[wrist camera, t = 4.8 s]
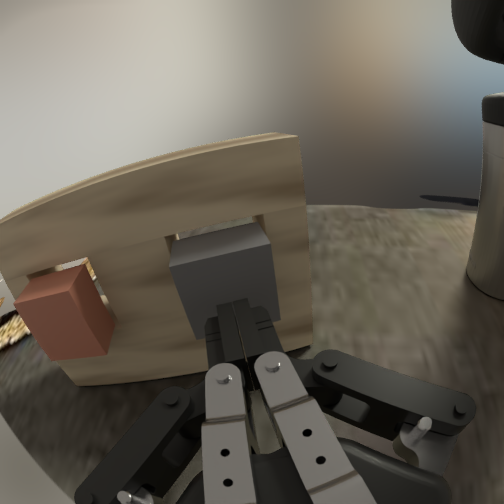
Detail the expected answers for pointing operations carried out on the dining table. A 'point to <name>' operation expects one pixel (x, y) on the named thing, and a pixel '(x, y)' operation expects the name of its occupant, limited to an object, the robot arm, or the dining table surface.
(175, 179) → the key panel
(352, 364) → the robot arm
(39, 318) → the brick red key
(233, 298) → the graphite key
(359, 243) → the dining table surface
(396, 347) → the dining table surface
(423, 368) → the dining table surface
